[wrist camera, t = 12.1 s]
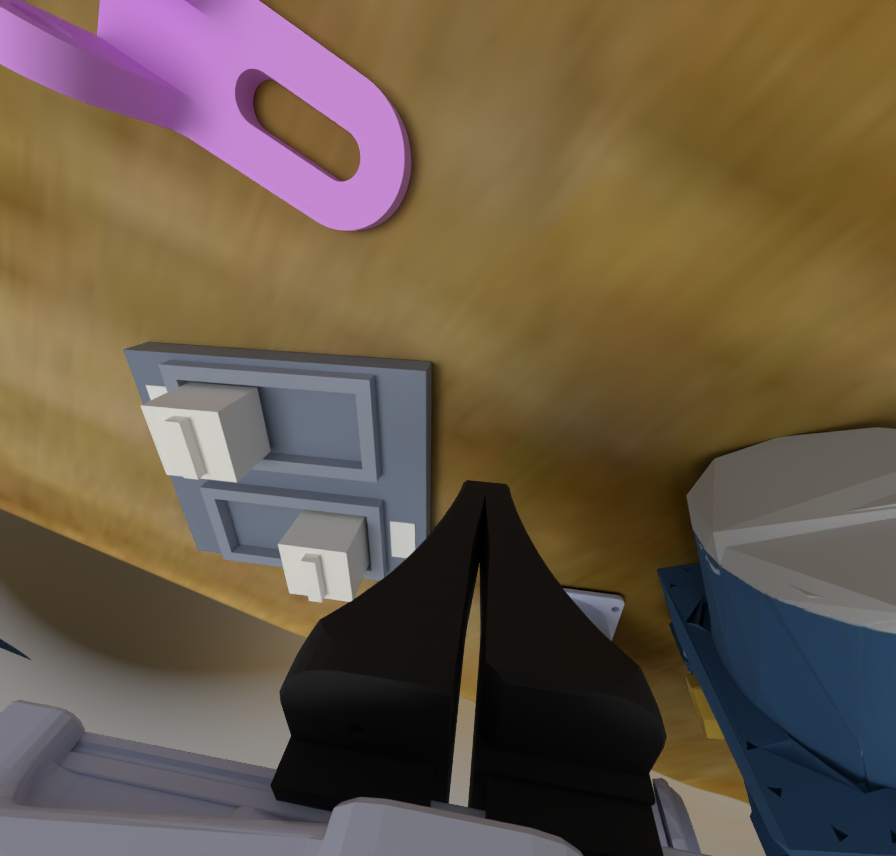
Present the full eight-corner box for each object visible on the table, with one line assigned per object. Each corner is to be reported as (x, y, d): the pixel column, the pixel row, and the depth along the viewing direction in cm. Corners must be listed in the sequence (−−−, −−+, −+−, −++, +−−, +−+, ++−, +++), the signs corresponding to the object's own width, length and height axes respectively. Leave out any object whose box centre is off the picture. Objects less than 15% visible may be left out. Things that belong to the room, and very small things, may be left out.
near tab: (271, 451, 23) (229, 489, 19) (208, 444, 23) (157, 481, 20) (257, 387, 21) (208, 417, 17) (189, 382, 21) (129, 410, 18)
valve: (934, 597, 23) (1591, 1087, 9) (659, 627, 27) (804, 990, 13) (929, 387, 19) (1989, 639, 5) (616, 460, 23) (748, 706, 10)
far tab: (369, 561, 26) (349, 611, 22) (313, 554, 26) (284, 601, 23) (365, 514, 24) (342, 561, 20) (304, 507, 24) (271, 551, 21)
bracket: (123, 87, 17) (-92, 6, 11) (142, -80, 15) (-126, -308, 8) (378, 254, 19) (315, 265, 13) (435, 131, 16) (390, 70, 10)
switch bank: (430, 562, 28) (423, 590, 25) (212, 535, 29) (190, 558, 27) (431, 361, 21) (422, 376, 19) (147, 342, 23) (110, 353, 20)
